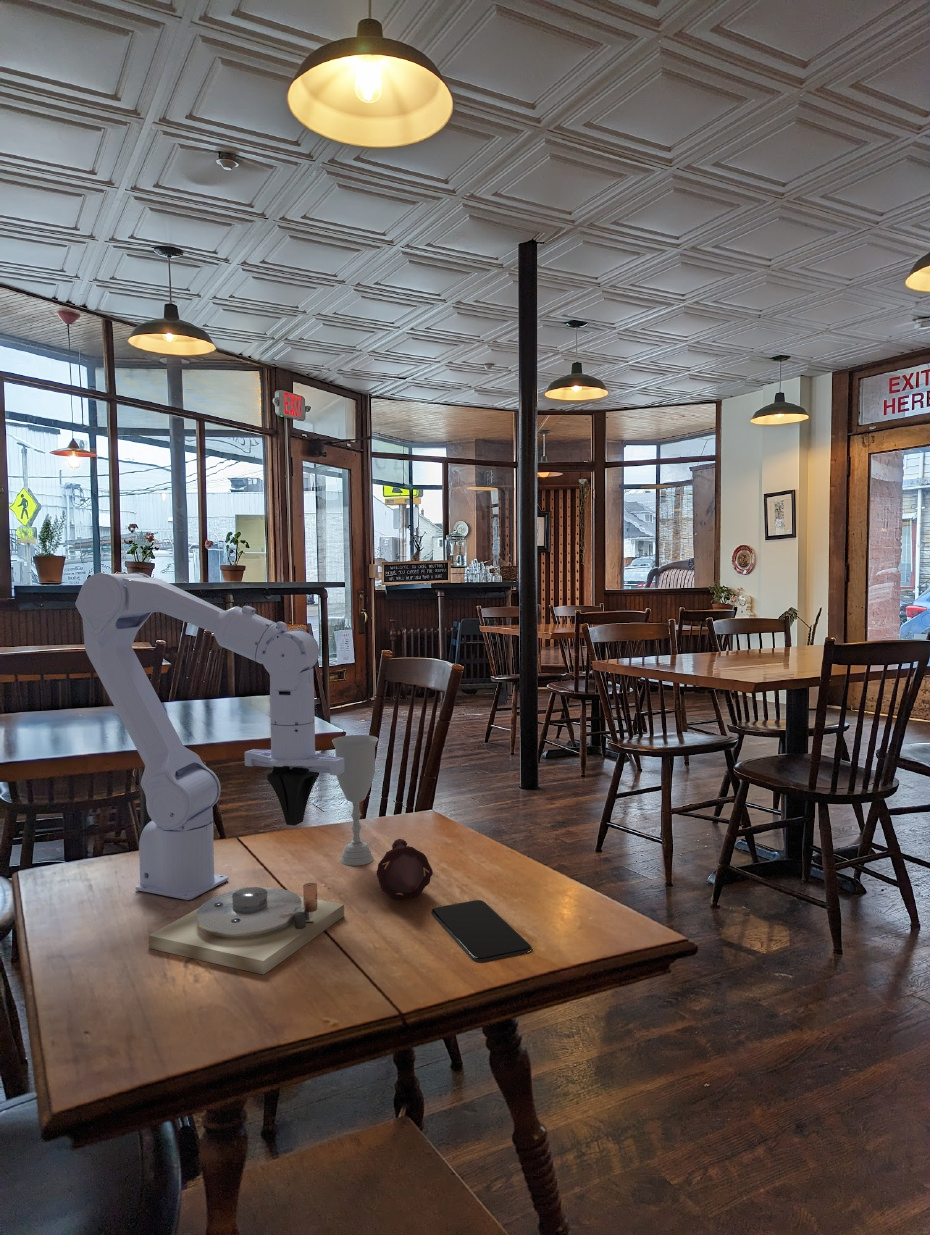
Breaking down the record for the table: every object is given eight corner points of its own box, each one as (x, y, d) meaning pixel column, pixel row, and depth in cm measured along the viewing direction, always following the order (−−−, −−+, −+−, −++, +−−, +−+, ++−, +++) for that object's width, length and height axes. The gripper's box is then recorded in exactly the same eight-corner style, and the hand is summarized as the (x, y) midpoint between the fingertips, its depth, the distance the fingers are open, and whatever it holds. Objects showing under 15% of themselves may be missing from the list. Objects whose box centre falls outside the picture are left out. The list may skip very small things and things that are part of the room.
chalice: (376, 868, 117) (374, 744, 116) (329, 868, 117) (327, 745, 116) (382, 851, 125) (380, 734, 124) (338, 851, 125) (336, 735, 124)
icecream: (448, 865, 101) (426, 837, 115) (390, 855, 99) (375, 828, 114) (435, 921, 100) (415, 886, 115) (377, 912, 99) (364, 878, 113)
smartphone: (535, 955, 91) (482, 904, 105) (535, 948, 91) (482, 898, 105) (475, 968, 88) (428, 914, 102) (475, 960, 88) (428, 907, 102)
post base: (148, 948, 93) (148, 922, 93) (240, 896, 107) (239, 874, 107) (263, 974, 86) (263, 947, 86) (344, 916, 101) (343, 892, 101)
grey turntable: (178, 934, 92) (177, 899, 91) (224, 892, 104) (224, 862, 103) (299, 941, 90) (298, 906, 89) (333, 898, 101) (332, 867, 101)
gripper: (228, 723, 107) (230, 825, 107) (322, 731, 101) (324, 838, 102) (262, 714, 113) (264, 810, 114) (352, 721, 107) (353, 822, 108)
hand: (294, 823), depth 108 cm, fingers closed
